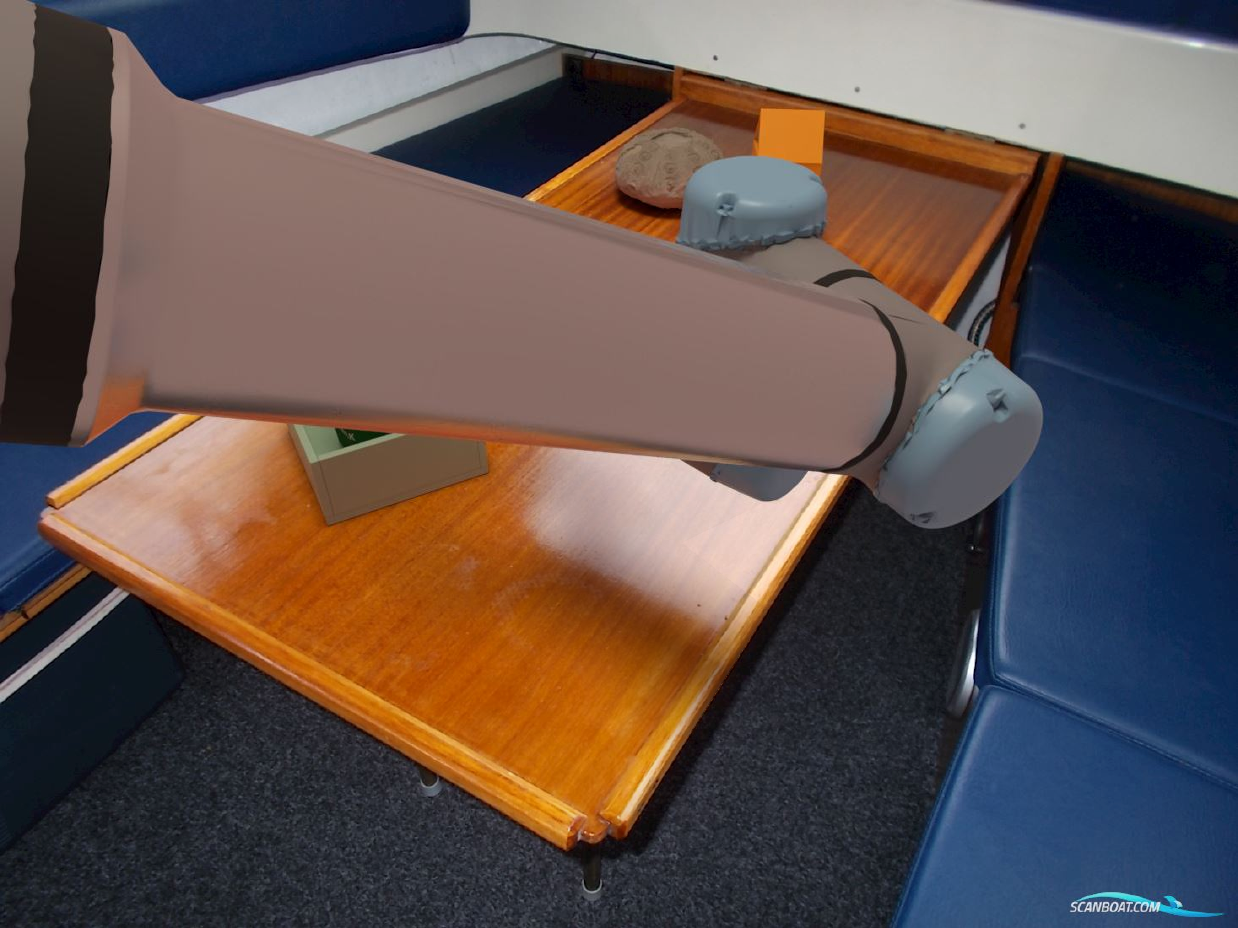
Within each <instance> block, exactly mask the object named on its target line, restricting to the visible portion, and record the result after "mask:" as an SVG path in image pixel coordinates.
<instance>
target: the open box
mask: <svg viewBox="0 0 1238 928" xmlns="http://www.w3.org/2000/svg"><path fill="white" fill-rule="evenodd" d="M285 424H286V428H287V430H288V433H289V435H290V437H291V440H292V443H293V445H294V447H295V450H296V452H297V454H298V457H299V460H300V462H301V464H302V467H303V469H304V471H305V474H306V476H307V479H308V481H309V484H310V486H311V488H312V491H313V492H314V495H315V497H316V500H317V502H318V503H317V504H318V505H319V507H320V508H319V509H320V510H321V512H322V514H323V517H324V519H325V522H326V524H327V526H328V527H329V526H332V525H335V524H338V523H341V522H344V521H347V520H350V519H353V518H356V517H359V516H362V515H365V514H368V513H371V512H374V511H377V510H380V509H383V508H386V507H390V506H392V505H395V504H399V503H401V502H404V501H408V500H411V499H414V498H416V497H419V496H423V495H426V494H428V493H431V492H434V491H437V490H440V489H443V488H446V487H450V486H452V485H455V484H458V483H462V482H465V481H467V480H470V479H474V478H477V477H479V476H483V475H486V474H488V473H489V465H488V455H487V448H486V442H484V441H473V440H462V439H451V438H440V437H429V436H418V435H408V434H397V433H392V434H389V435H385V436H382V437H379V438H375V439H372V440H369V441H365V442H362V443H359V444H355V445H352V446H349V447H344V446H343V445H342V444H341V443H340V442H339V440H338V437H337V434H336V431H335V428H331V427H320V426H309V425H298V424H287V423H285Z"/></svg>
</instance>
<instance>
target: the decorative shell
mask: <svg viewBox="0 0 1238 928" xmlns="http://www.w3.org/2000/svg"><path fill="white" fill-rule="evenodd" d="M723 153H724V150H722V149H720V148H719V147H718V145H716V143H715V141H714V139H710V138H708V137H707V136H706V135H703V134H701V133H699V132H698V133H697V132H696V131H695V130H691V129H689V128H685V127H677V126H674V127H669V128H666V127H665V128H659V129H658V128H657V129H656V128H652V129H651V130H647V131H644V132H642V133H639V134H637V135H634V136H633V138H631V139H630V140H629V141H628V142H627V143H626V144H623V145H622V148H621V149H620V152H619V153H618V156H617V159H616V162H615V165H614V169H613V172H614V176H615V182H616V185H617V187H618V189H619V190H620V191H621V192H622V193H623V194H625V195H627V196H629V197H630V198H633V199H636V200H638V201H640V202H642V203H644V204H647V205H650V206H652V207H653V206H654V207H656V208H660V209H664V208H665V209H664V210H671V209H670V208H675V209H676V208H678V209H677V210H682V207H683V200H684V192H685V188H686V185H687V182H688V181H689V179H690V178H691V176H692V175H693V174H694V173H695V172H696V171H697V170H699V169H700V168H701V167H703V166H705V165H707V164H709V163H711V162H714V161H717V160H722V159H725V157H724V155H723Z"/></svg>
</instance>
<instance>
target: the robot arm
mask: <svg viewBox="0 0 1238 928" xmlns="http://www.w3.org/2000/svg"><path fill="white" fill-rule="evenodd" d="M828 198H829V197H828V193H827V191H826V189H825V186H824V185H823V182H822V179H821V177H820V178H819V176H817V175H816V174H815V173H814V172H812V171H811V170H809V169H808V168H806V167H804V166H801V165H799V164H796V163H793V162H791V161H787V160H783V159H778V158H773V157H765V156H752V155H738V156H737V155H736V156H732V157H724V159H722V160H717V161H714V162H711V163H709V164H707V165H705V166H703V167H701V168H700V169H699V170H697V171H696V172H695V173H694V174H693V175H692V176H691V178H690V179H689V181H688V182H687V185H686V188H685V192H684V200H683V207H682V209H681V216H680V224H679V230H678V235H676V237H675V240H674V242H673V241H671V240H670V241H669V240H666V239H662V238H659V237H656V236H652V235H649V234H645V233H642V232H638V231H635V230H632V229H628V228H625V227H622V226H618V225H615V224H611V223H608V222H604V221H601V220H598V219H595V218H591V217H589V216H585V215H580V214H577V213H574V212H571V211H567V210H564V209H560V208H557V207H553V206H551V205H546V204H543V203H539V202H537V201H532V200H529V199H526V198H523V197H520V196H516V195H513V194H509V193H505V192H502V191H499V190H495V189H493V188H489V187H485V186H482V185H479V184H475V183H471V182H469V181H465V180H461V179H458V178H454V177H451V176H448V175H444V174H441V173H437V172H435V171H431V170H427V169H424V168H420V167H417V166H413V165H410V164H407V163H404V162H400V161H396V160H394V159H391V158H387V157H383V156H380V155H376V154H373V153H370V152H366V151H363V150H359V149H355V148H352V147H350V146H349V147H348V146H345V145H342V144H339V143H335V142H332V141H328V140H325V139H322V138H319V137H315V136H311V135H309V134H304V133H301V132H298V131H294V130H291V129H288V128H285V127H281V126H277V125H274V124H271V123H268V122H264V121H260V120H257V119H253V118H251V117H247V116H243V115H240V114H236V113H233V112H230V111H226V110H224V109H221V108H220V109H219V108H216V107H213V106H209V105H206V104H203V103H199V102H196V101H192V100H188V99H186V98H182V97H178V96H177V95H175V93H173V92H172V91H171V90H169V89H168V88H167V87H166V86H165V85H163V83H162V82H161V80H160V79H159V78H158V76H157V75H156V74H155V72H154V71H153V70H152V68H151V67H150V65H149V64H148V63H147V62H146V60H145V59H144V57H143V56H142V54H141V53H140V52H139V50H138V49H137V48H136V46H135V45H134V43H133V42H132V40H131V39H130V38H129V37H128V35H127V34H126V33H125V32H122V31H120V30H117V29H114V28H112V27H110V26H106V25H103V24H100V23H97V22H94V21H91V20H88V19H84V18H81V17H78V16H75V15H72V14H69V13H67V12H63V11H59V10H58V9H57V10H56V9H53V8H50V7H48V6H45V5H41V4H38V3H35V2H32V1H29V0H0V443H1V444H2V443H3V444H4V443H5V444H17V445H31V446H32V445H33V446H47V447H63V448H66V447H67V448H76V449H77V448H78V449H82V448H83V447H85V446H86V445H88V444H89V443H91V442H92V441H93V440H95V439H97V438H98V437H99V436H100V435H102V434H104V433H105V432H106V431H108V430H109V429H111V428H112V427H114V426H115V425H117V424H118V423H119V422H121V421H122V420H124V419H126V417H128V416H129V415H130V414H131V415H132V414H136V413H137V414H138V413H143V412H154V413H155V412H156V413H165V414H166V413H167V414H177V415H178V414H179V415H190V416H200V417H212V418H222V419H231V420H232V419H234V420H244V421H245V420H246V421H255V422H267V423H278V424H286V423H287V424H298V425H309V426H320V427H331V428H342V429H353V430H364V431H375V432H386V433H397V434H408V435H418V436H429V437H440V438H451V439H462V440H473V441H484V442H485V443H497V444H498V443H499V444H507V445H519V446H527V447H528V446H529V447H530V446H531V447H541V448H551V449H564V450H573V451H574V450H575V451H584V452H595V453H606V454H616V455H617V454H619V455H627V456H638V457H651V458H661V459H662V458H663V459H672V460H679V461H681V462H683V463H685V464H687V465H688V466H690V467H692V468H693V469H695V470H696V471H698V472H700V473H702V474H703V475H706V476H707V477H708V478H709V479H710V480H711V481H712V482H714V483H719V484H720V485H723V486H725V487H727V488H729V489H732V490H734V491H735V492H738V493H740V494H742V495H745V496H746V497H749V498H751V499H754V500H756V501H759V502H765V503H767V502H774V501H777V500H780V499H782V498H784V497H785V496H786V495H788V494H789V493H790V492H791V491H793V489H794V488H795V487H797V486H798V485H799V484H800V482H801V481H802V480H803V479H804V478H805V476H806V475H808V472H814V473H821V474H827V475H838V476H848V477H849V476H850V477H853V478H855V479H857V480H859V481H861V482H862V483H864V484H865V485H866V486H867V488H869V489H870V491H871V492H872V495H873V497H875V499H877V501H878V502H880V503H881V504H886V505H887V506H888V507H890V508H891V509H892V510H893V511H895V512H896V513H897V514H898V515H899V516H901V517H902V518H903V519H905V520H906V521H907V522H909V523H911V524H912V525H914V526H916V527H919V528H922V529H943V528H947V527H951V526H954V525H957V524H959V523H961V522H964V521H966V520H968V519H969V518H972V517H974V516H975V515H977V514H979V513H980V512H981V511H982V510H984V509H985V508H987V507H988V506H989V505H991V504H992V503H993V502H994V501H995V500H996V499H998V498H999V497H1000V496H1001V495H1002V494H1003V493H1004V492H1005V491H1006V490H1007V489H1008V488H1009V487H1010V485H1012V483H1013V482H1014V480H1015V479H1016V478H1017V477H1018V476H1019V474H1020V473H1021V472H1022V470H1023V469H1024V468H1025V466H1026V465H1027V464H1028V462H1029V460H1030V458H1031V457H1032V455H1033V453H1034V452H1035V450H1036V447H1037V446H1038V443H1039V440H1040V437H1041V434H1042V429H1043V424H1044V411H1043V406H1042V405H1043V404H1042V402H1041V400H1040V399H1039V396H1038V394H1037V393H1036V391H1035V390H1034V389H1033V388H1032V387H1031V386H1030V385H1029V384H1028V383H1027V382H1025V380H1022V379H1021V378H1020V377H1019V376H1018V375H1016V374H1015V373H1014V372H1013V371H1011V370H1010V369H1009V368H1008V367H1006V366H1005V364H1003V363H1002V362H1001V361H999V360H998V359H997V358H996V357H995V353H994V352H992V351H991V350H989V349H987V348H984V349H982V348H980V347H979V346H977V345H976V344H974V343H973V342H971V341H970V340H968V339H966V338H965V337H964V336H962V335H960V334H959V333H958V332H956V331H954V330H953V329H952V328H950V327H948V326H947V325H945V324H944V323H942V322H941V321H939V320H938V319H937V318H934V317H933V316H932V315H930V314H929V313H928V312H926V311H924V310H923V309H921V308H920V307H918V306H917V305H915V304H914V303H912V302H911V301H909V300H907V299H906V298H905V297H903V296H902V295H900V294H899V293H897V292H896V291H894V290H893V289H892V288H890V287H888V286H887V285H886V284H885V283H883V282H882V281H881V280H880V279H878V278H877V277H876V276H875V275H873V274H872V273H871V272H870V271H869V270H867V269H865V268H864V267H863V266H861V265H859V264H858V263H857V262H856V261H854V260H853V259H851V258H849V257H848V256H846V255H845V254H843V253H842V252H840V251H839V250H837V248H835V247H833V246H832V245H830V244H829V243H827V242H826V241H825V240H824V238H823V235H824V231H825V230H826V228H827V227H828V219H827V213H828V200H829V199H828ZM287 424H286V425H287Z"/></svg>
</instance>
